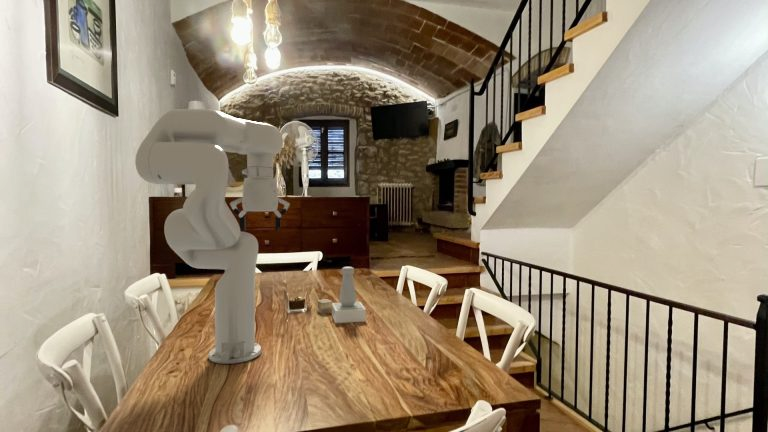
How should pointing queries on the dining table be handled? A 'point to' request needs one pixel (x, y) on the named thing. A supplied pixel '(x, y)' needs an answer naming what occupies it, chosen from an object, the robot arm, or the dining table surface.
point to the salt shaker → (347, 288)
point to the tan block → (324, 306)
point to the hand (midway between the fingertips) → (260, 230)
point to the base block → (348, 313)
